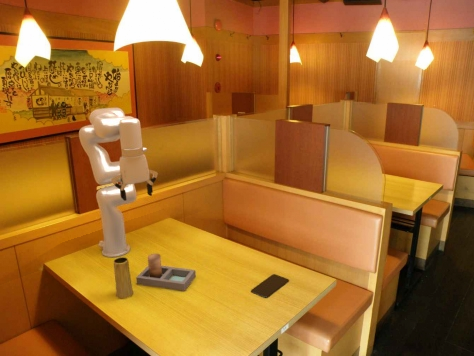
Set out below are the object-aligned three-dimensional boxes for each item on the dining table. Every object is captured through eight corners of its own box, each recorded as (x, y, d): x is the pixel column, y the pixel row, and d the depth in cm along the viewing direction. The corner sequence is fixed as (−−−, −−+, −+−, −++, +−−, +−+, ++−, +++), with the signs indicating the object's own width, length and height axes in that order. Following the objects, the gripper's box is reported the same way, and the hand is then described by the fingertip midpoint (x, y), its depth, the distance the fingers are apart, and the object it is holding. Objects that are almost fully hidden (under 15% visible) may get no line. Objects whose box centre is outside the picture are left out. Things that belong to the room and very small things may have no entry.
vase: (128, 299, 141) (124, 264, 137) (113, 298, 142) (108, 263, 139) (135, 290, 147) (132, 256, 143) (121, 289, 148) (117, 255, 144)
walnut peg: (147, 281, 153) (145, 258, 151) (153, 275, 158) (151, 253, 155) (158, 282, 152) (156, 260, 149) (164, 276, 156) (162, 254, 154)
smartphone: (266, 300, 139) (290, 281, 151) (266, 297, 139) (290, 279, 151) (249, 292, 144) (273, 275, 156) (249, 290, 144) (273, 273, 156)
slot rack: (136, 284, 151) (136, 277, 151) (150, 270, 161) (149, 264, 161) (184, 291, 146) (184, 284, 145) (195, 276, 156) (195, 270, 155)
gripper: (152, 148, 147) (156, 191, 151) (105, 154, 139) (111, 199, 143) (158, 151, 141) (162, 195, 145) (110, 157, 132) (116, 204, 137)
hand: (137, 197), depth 144 cm, fingers open, 9 cm apart
